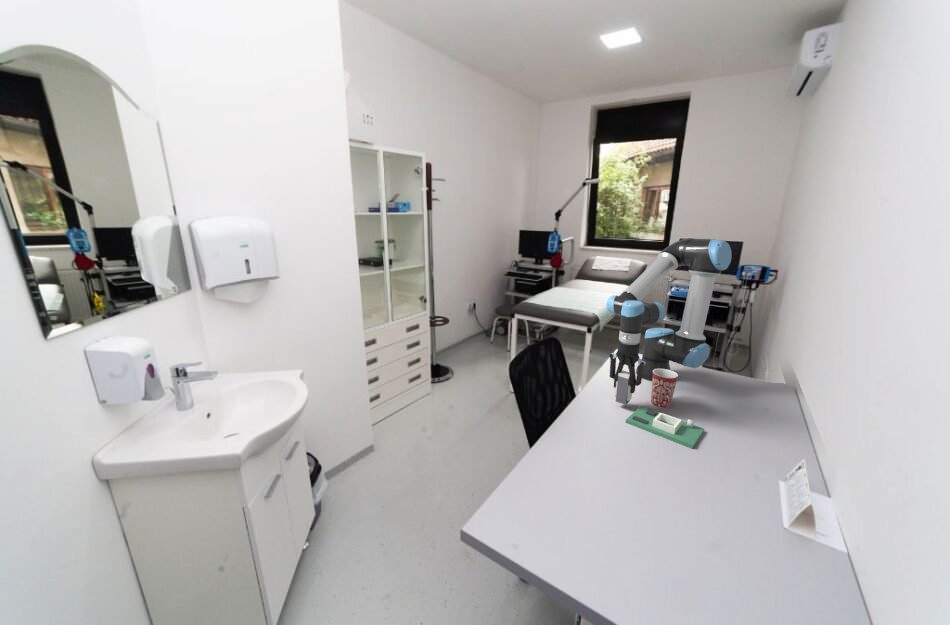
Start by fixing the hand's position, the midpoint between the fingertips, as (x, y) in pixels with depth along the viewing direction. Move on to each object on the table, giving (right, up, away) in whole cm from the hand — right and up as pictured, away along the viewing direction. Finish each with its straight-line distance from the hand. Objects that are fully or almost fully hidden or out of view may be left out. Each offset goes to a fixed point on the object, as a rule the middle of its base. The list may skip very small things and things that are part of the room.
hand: (623, 397), depth 144 cm
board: (+9, -8, -13) cm, 18 cm away
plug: (0, -2, 0) cm, 2 cm away
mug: (+18, -3, +5) cm, 19 cm away
